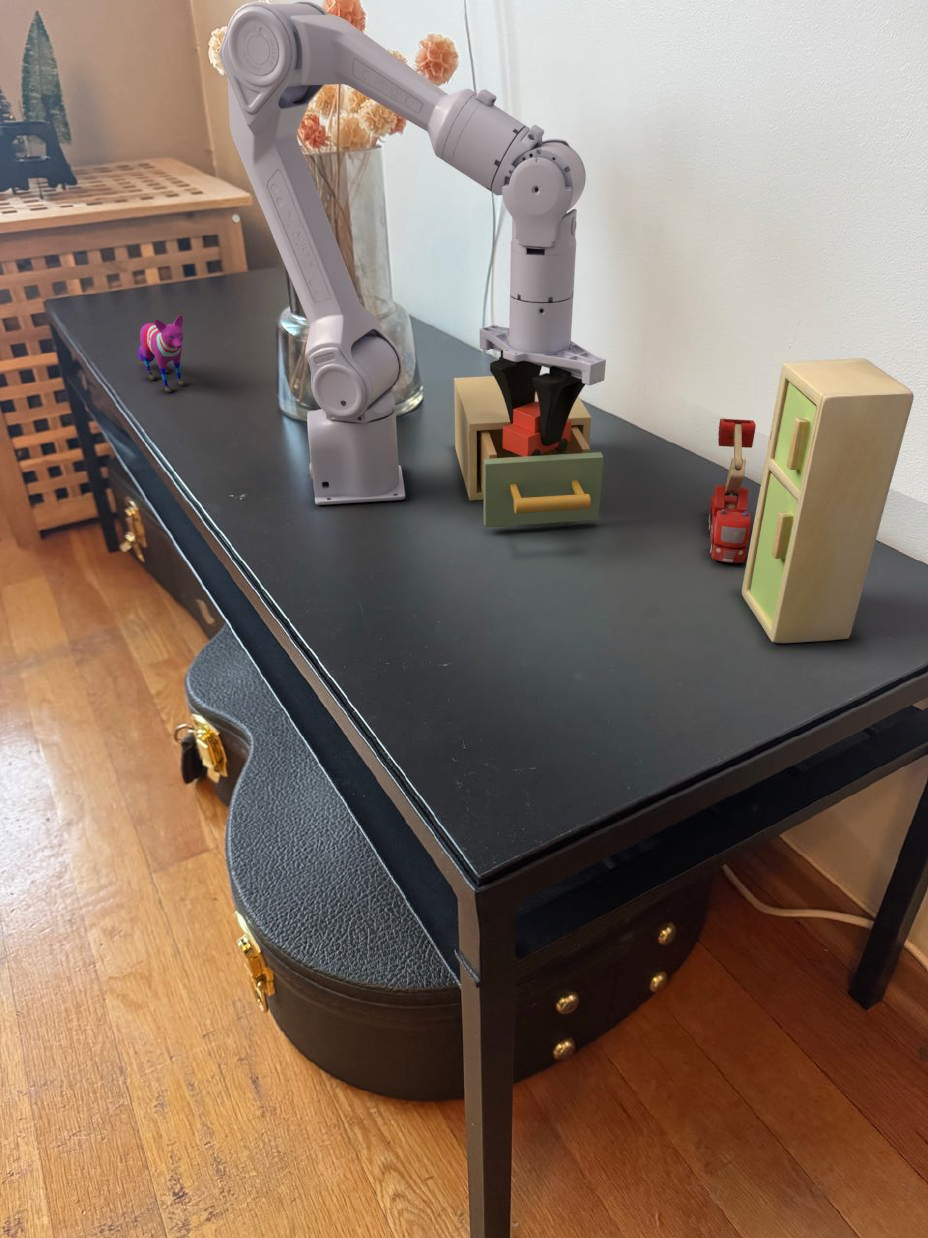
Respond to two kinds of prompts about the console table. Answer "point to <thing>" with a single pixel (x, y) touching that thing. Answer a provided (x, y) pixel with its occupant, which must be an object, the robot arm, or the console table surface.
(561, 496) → the cabinet drawer
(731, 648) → the console table surface
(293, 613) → the console table surface
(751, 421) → the toy fire truck
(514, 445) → the toy car
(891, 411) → the toy refrigerator
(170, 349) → the toy dog
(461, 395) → the wooden drawer cabinet
